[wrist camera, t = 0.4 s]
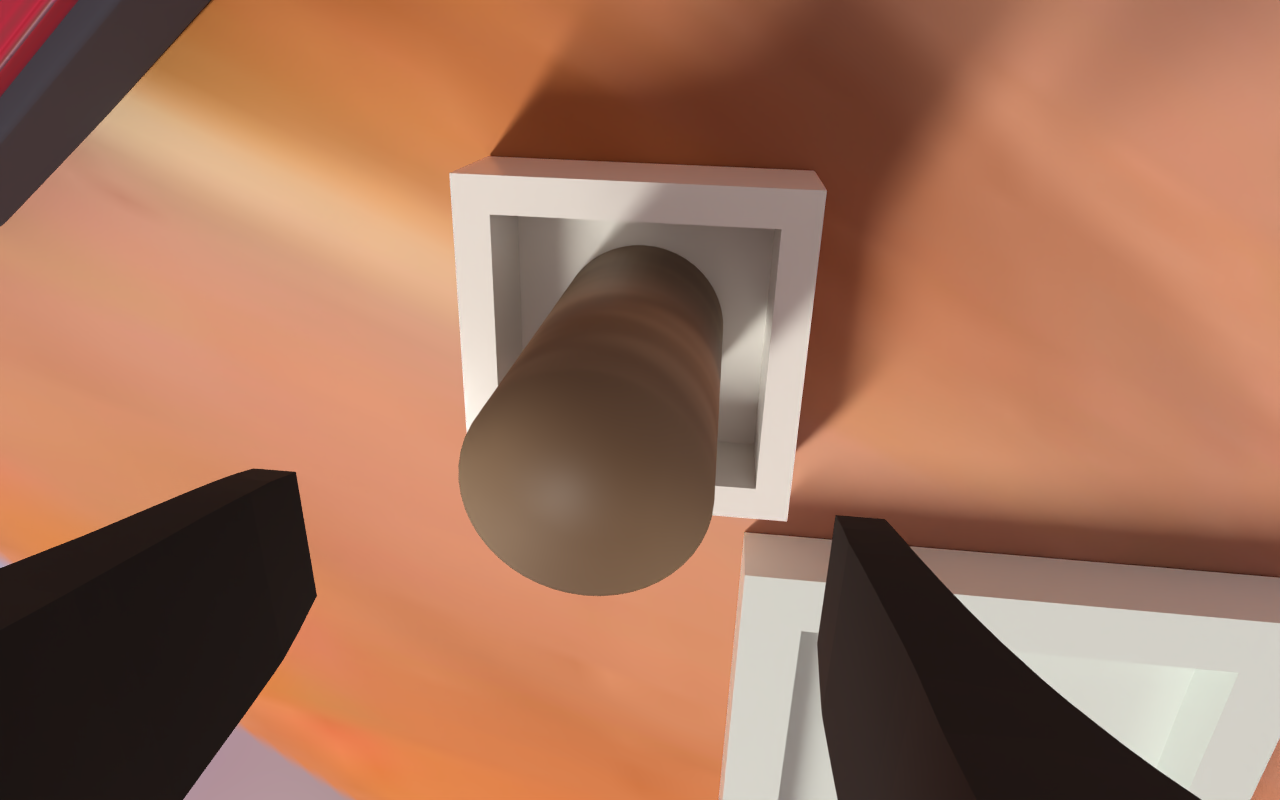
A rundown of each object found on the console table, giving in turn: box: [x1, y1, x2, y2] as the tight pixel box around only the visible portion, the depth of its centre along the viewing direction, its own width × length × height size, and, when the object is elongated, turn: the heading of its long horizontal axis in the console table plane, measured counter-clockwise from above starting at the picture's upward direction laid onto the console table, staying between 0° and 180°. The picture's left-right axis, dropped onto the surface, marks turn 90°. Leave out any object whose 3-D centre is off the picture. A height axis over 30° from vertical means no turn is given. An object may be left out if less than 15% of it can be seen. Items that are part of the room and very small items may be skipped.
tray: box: [719, 532, 1280, 800], centre depth 24 cm, size 14×14×2 cm
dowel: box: [459, 245, 723, 596], centre depth 16 cm, size 4×4×8 cm
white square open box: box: [449, 156, 827, 521], centre depth 19 cm, size 8×8×3 cm
